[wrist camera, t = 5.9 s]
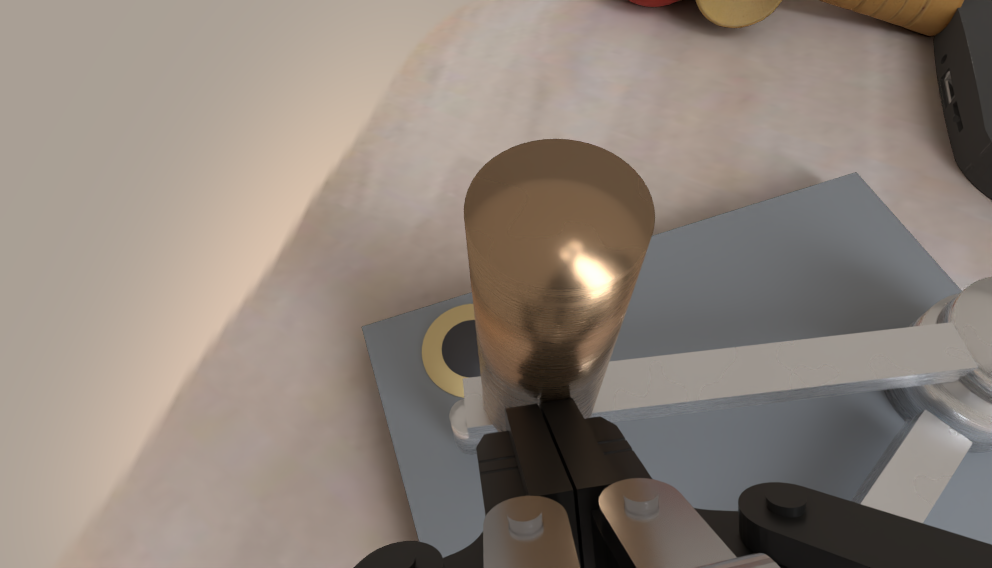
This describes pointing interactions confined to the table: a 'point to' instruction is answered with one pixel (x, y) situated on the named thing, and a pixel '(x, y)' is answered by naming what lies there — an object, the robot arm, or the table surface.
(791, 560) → the robot arm
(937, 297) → the hole plate
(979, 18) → the media streaming box
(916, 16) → the kendama
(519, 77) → the table surface
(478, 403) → the crank handle
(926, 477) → the divider pivot
